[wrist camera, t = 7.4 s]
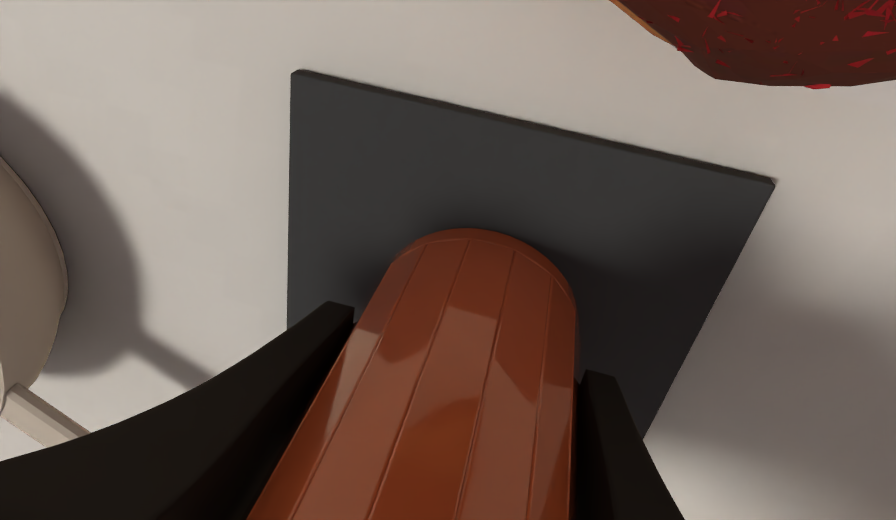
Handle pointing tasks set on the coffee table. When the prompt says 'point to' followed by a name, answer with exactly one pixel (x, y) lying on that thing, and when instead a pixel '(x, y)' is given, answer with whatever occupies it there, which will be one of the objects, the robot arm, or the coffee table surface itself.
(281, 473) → the terracotta cup
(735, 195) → the mat
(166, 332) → the coffee table surface
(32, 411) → the frying pan
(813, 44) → the donut
